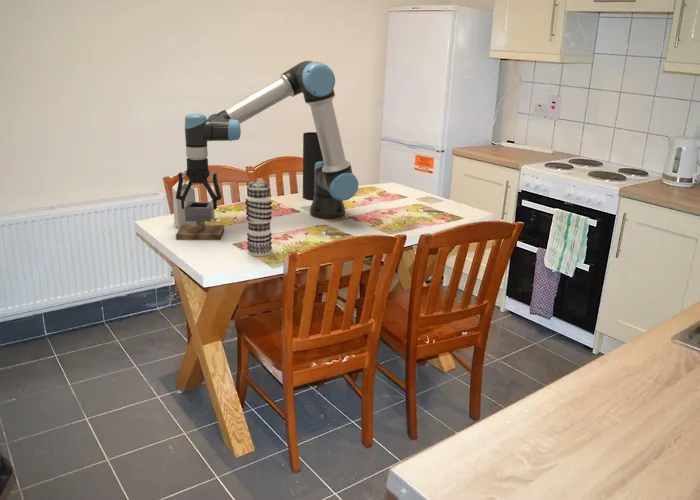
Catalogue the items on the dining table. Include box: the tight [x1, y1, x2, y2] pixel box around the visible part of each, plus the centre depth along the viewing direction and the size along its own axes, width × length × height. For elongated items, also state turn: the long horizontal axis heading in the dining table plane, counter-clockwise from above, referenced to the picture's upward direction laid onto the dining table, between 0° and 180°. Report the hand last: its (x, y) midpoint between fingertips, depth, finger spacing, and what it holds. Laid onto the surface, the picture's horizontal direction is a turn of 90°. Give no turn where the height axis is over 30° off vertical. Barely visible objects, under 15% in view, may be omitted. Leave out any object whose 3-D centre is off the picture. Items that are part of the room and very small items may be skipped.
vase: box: [302, 131, 324, 201], centre depth 283 cm, size 10×10×30 cm
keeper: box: [175, 221, 225, 241], centre depth 228 cm, size 16×12×8 cm
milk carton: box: [171, 179, 196, 230], centre depth 236 cm, size 7×7×19 cm
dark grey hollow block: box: [185, 201, 213, 223], centre depth 226 cm, size 9×9×5 cm
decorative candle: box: [244, 180, 273, 257], centre depth 209 cm, size 9×9×25 cm
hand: (199, 217), depth 227 cm, fingers closed on dark grey hollow block, 9 cm apart
